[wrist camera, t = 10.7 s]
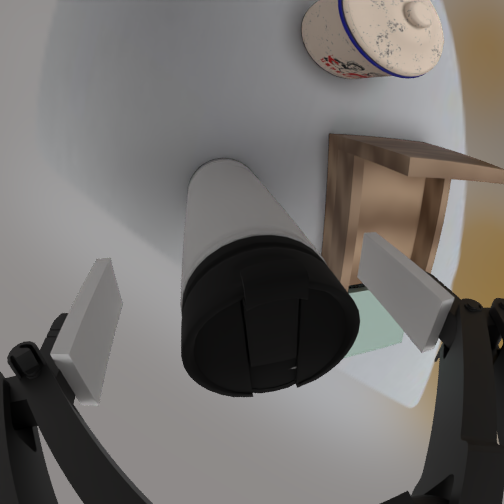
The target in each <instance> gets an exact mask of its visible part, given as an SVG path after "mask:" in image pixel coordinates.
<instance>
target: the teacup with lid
mask: <svg viewBox="0 0 504 504" xmlns="http://www.w3.org/2000/svg"><path fill="white" fill-rule="evenodd" d="M302 37H303V41H304V44H305V47H306V49H307V51H308V52H309V54H310V56H311V57H312V58H313V59H314V61H315V62H316V63H317V64H318V65H319V66H321V67H322V68H323V69H325V70H326V71H328V72H329V73H331V74H333V75H335V76H338V77H342V78H347V79H359V78H369V77H382V76H396V77H400V78H416V77H419V76H422V75H424V74H426V73H427V72H429V71H430V70H431V69H432V68H433V67H434V66H435V65H436V64H437V62H438V61H439V59H440V56H441V54H442V50H443V44H444V37H443V30H442V25H441V22H440V19H439V16H438V14H437V12H436V10H435V8H434V6H433V5H432V3H431V2H430V0H319V1H318V2H316V3H315V4H314V5H312V6H311V7H310V8H309V9H308V11H307V12H306V14H305V16H304V18H303V22H302Z"/></svg>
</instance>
